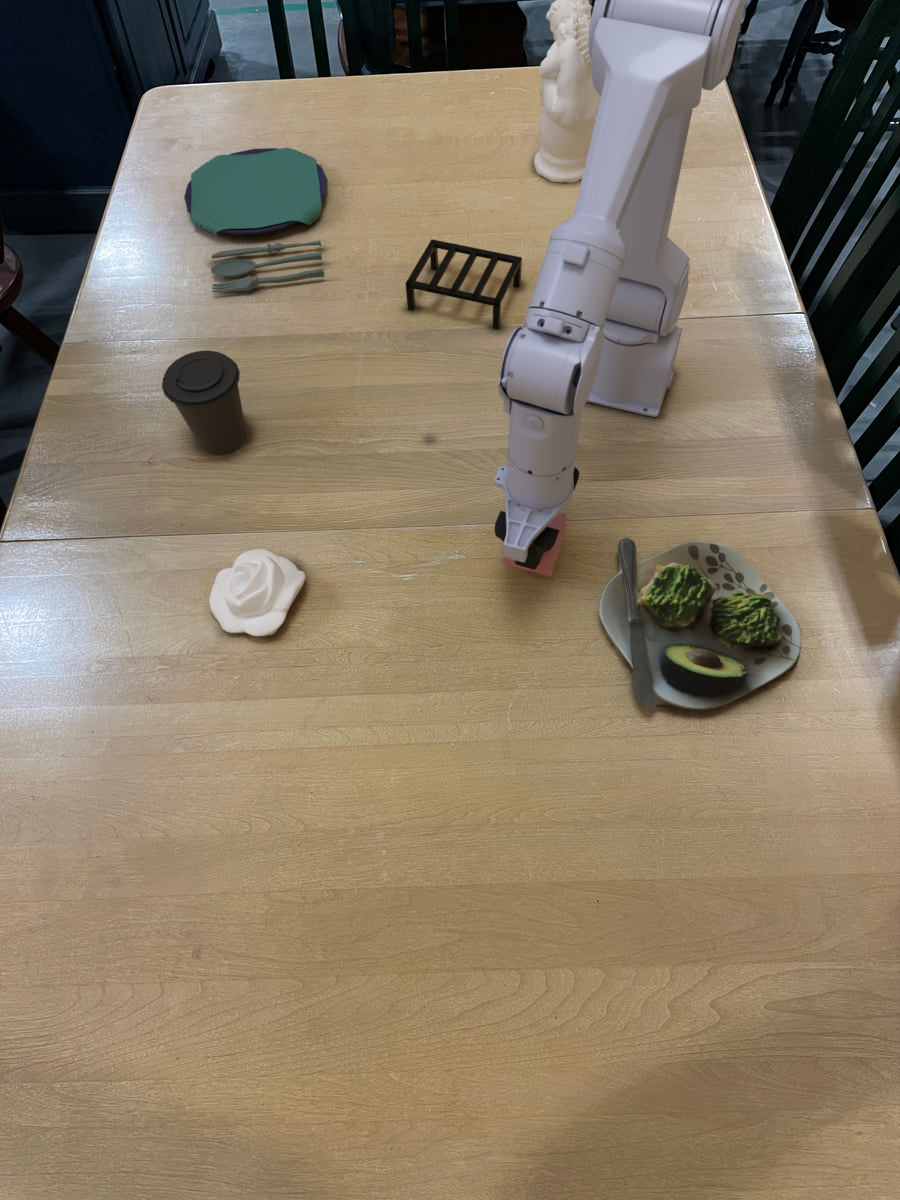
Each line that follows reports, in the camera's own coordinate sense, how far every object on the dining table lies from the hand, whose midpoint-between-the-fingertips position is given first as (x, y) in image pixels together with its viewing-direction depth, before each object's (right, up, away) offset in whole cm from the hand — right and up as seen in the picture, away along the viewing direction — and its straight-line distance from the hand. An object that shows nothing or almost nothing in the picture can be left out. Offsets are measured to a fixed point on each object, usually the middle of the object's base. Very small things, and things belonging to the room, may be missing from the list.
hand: (533, 544), depth 83 cm
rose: (-27, -6, +1) cm, 28 cm away
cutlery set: (-34, +46, +34) cm, 67 cm away
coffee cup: (-34, +13, +13) cm, 38 cm away
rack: (-6, +33, +24) cm, 41 cm away
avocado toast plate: (+15, -9, -2) cm, 18 cm away
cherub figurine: (+10, +56, +38) cm, 68 cm away
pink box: (0, -1, +1) cm, 1 cm away
